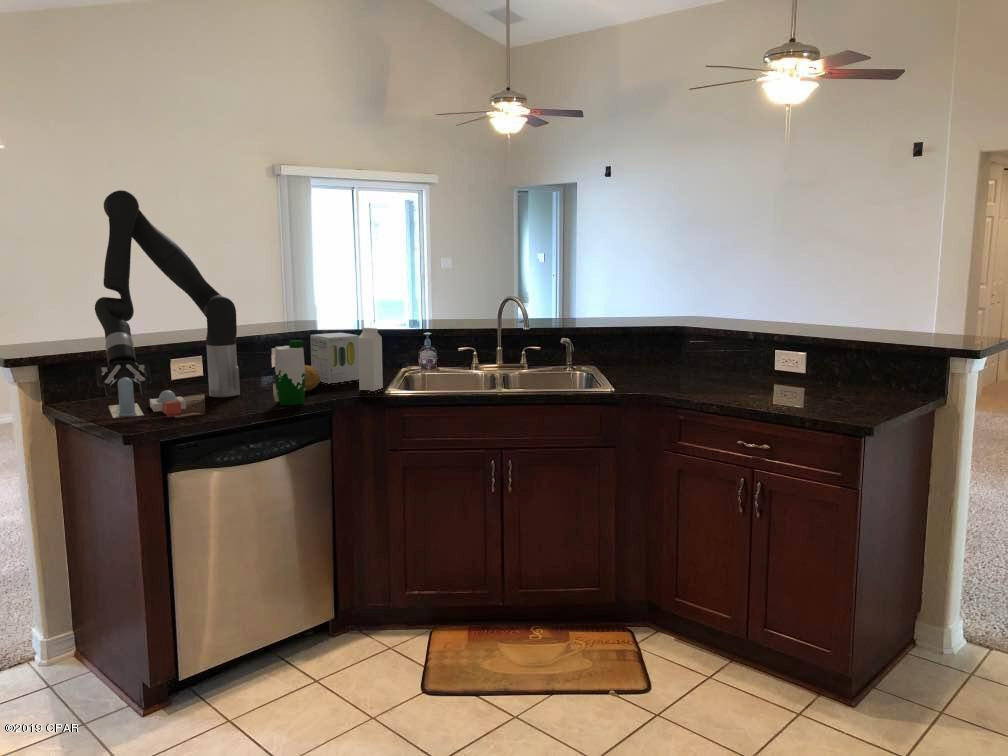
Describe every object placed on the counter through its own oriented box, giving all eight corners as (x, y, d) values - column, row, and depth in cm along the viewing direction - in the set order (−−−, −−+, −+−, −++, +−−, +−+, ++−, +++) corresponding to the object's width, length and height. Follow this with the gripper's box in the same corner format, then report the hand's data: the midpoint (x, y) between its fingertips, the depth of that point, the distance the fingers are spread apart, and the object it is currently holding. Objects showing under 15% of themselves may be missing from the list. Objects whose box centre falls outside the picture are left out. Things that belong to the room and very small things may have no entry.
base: (181, 406, 238) (181, 396, 237) (186, 411, 230) (185, 401, 229) (150, 408, 233) (149, 399, 233) (153, 414, 225) (153, 404, 225)
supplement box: (328, 385, 276) (327, 337, 273) (311, 380, 286) (309, 334, 283) (360, 381, 285) (359, 335, 282) (342, 377, 295) (341, 332, 292)
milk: (374, 393, 262) (373, 329, 258) (359, 391, 264) (357, 328, 260) (383, 390, 267) (381, 327, 264) (367, 388, 269) (366, 326, 266)
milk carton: (307, 404, 241) (305, 341, 238) (277, 406, 238) (274, 342, 235) (304, 399, 249) (302, 338, 246) (275, 401, 246) (272, 339, 243)
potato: (278, 392, 261) (277, 365, 259) (309, 387, 271) (308, 361, 270) (295, 396, 255) (294, 368, 254) (327, 390, 266) (326, 364, 264)
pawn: (135, 412, 224) (132, 375, 222) (137, 415, 220) (134, 377, 218) (118, 414, 221) (115, 376, 219) (119, 417, 217) (116, 379, 216)
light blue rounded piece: (175, 406, 235) (174, 388, 234) (178, 408, 231) (177, 391, 230) (158, 407, 232) (156, 389, 231) (160, 410, 228) (159, 392, 227)
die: (176, 413, 227) (176, 399, 226) (181, 415, 224) (180, 401, 223) (162, 414, 224) (162, 401, 224) (167, 417, 222) (166, 403, 221)
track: (137, 405, 237) (137, 403, 237) (144, 417, 220) (144, 415, 220) (108, 408, 233) (108, 405, 233) (113, 420, 216) (113, 417, 216)
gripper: (93, 344, 220) (98, 389, 212) (147, 341, 227) (154, 385, 219) (93, 360, 225) (99, 405, 217) (146, 357, 232) (153, 400, 225)
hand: (126, 395), depth 218 cm, fingers open, 8 cm apart
